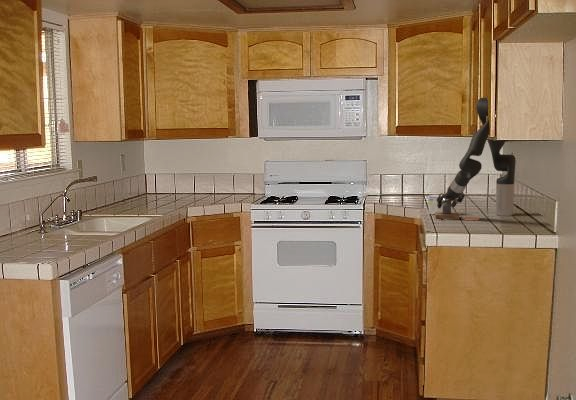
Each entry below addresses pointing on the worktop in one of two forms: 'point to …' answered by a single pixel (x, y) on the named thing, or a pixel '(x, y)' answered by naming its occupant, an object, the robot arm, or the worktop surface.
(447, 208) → the plug
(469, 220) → the orange round disc
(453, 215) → the brown wooden square frame
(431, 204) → the light bulb box
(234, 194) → the worktop surface
